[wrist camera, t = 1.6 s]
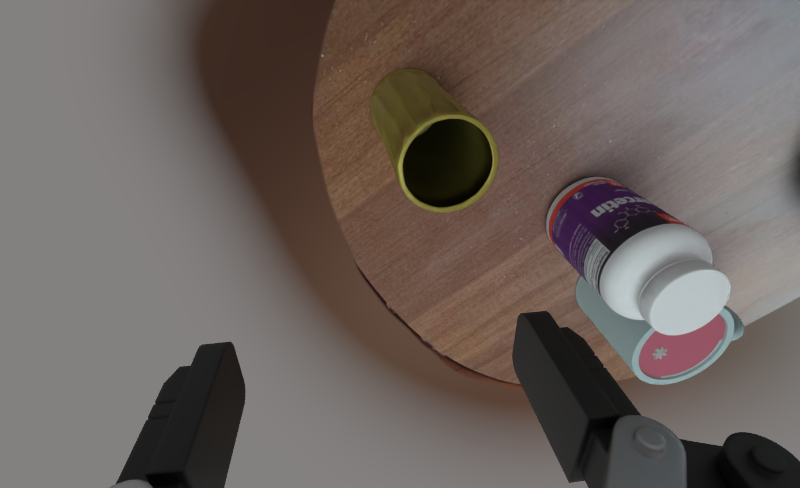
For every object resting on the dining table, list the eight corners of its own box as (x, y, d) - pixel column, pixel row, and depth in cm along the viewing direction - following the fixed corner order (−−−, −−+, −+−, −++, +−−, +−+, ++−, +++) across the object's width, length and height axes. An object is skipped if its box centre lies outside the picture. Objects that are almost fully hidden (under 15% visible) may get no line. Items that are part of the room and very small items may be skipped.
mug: (565, 316, 46) (617, 386, 37) (591, 244, 42) (657, 304, 33) (672, 315, 48) (745, 381, 40) (708, 246, 44) (799, 304, 35)
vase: (358, 129, 33) (369, 198, 21) (388, 53, 31) (421, 80, 18) (424, 157, 35) (471, 236, 23) (458, 88, 33) (531, 133, 20)
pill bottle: (632, 172, 38) (774, 248, 26) (609, 247, 42) (721, 345, 30) (550, 173, 37) (655, 254, 25) (534, 250, 41) (618, 353, 29)
